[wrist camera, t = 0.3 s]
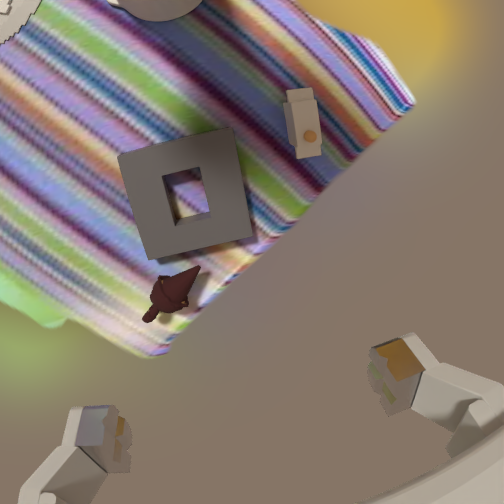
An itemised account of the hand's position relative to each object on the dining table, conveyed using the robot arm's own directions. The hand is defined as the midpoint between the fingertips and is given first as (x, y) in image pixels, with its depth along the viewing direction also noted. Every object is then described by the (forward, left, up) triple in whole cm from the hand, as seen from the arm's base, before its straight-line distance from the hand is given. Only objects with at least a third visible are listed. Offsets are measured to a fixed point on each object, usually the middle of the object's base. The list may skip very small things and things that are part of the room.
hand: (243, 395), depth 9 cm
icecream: (+22, -11, -46) cm, 52 cm away
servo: (-3, +16, -46) cm, 49 cm away
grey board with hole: (+5, -4, -46) cm, 47 cm away
